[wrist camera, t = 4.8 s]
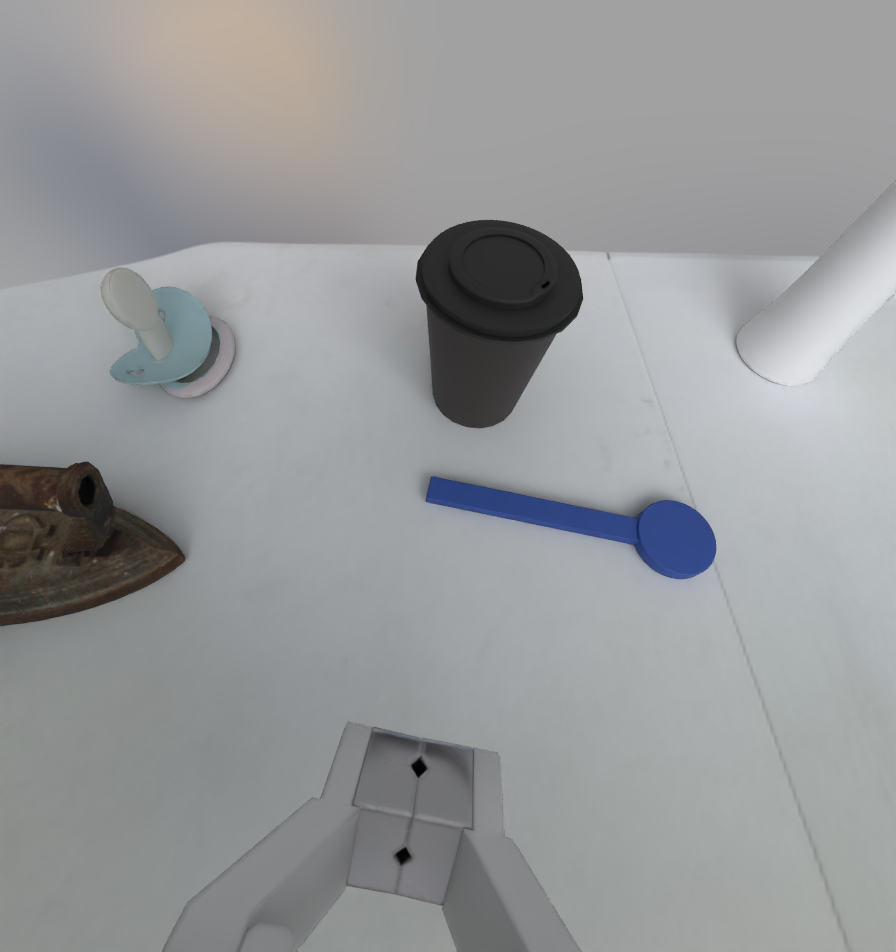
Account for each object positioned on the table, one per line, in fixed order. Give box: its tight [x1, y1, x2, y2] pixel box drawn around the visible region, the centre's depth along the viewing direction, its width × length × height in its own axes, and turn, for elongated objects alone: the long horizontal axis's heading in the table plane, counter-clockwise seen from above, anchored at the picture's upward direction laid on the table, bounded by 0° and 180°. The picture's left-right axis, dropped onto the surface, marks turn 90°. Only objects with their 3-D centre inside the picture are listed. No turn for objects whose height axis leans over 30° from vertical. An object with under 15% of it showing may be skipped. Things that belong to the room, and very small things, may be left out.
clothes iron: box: [0, 462, 185, 626], centre depth 21 cm, size 7×11×10 cm, turn 91°
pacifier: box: [101, 268, 235, 398], centre depth 27 cm, size 7×6×6 cm
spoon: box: [426, 476, 716, 579], centre depth 27 cm, size 16×4×1 cm, turn 79°
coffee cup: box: [416, 220, 583, 428], centre depth 26 cm, size 8×8×10 cm
